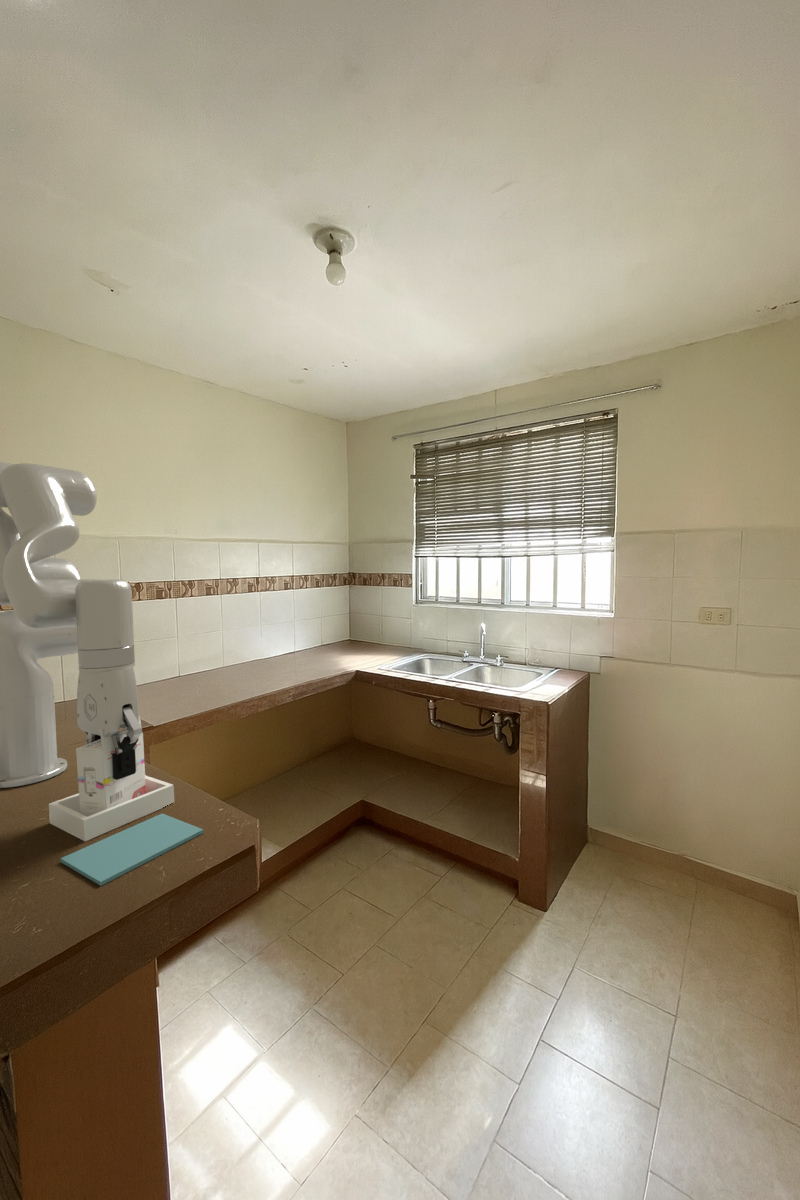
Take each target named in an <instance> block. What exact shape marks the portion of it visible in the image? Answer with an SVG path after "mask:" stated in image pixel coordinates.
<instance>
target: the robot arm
mask: <svg viewBox="0 0 800 1200" xmlns="http://www.w3.org/2000/svg"><path fill="white" fill-rule="evenodd" d="M94 485H95V484H94V483H93V481H92V480H91V478H89V477H88V476H87V475H86V474H85V473H83V472H81V471H79V470H77V471H76V470H73V469H68V468H67V469H66V468H62V467H61V468H59V467H55V466H49V465H45V464H44V465H43V464H36V463H28V462H27V463H25V462H24V463H21V462H20V463H9V462H3V461H0V606H11V608H12V609H13V610H6V611H5V610H4V611H0V789H3V788H4V789H6V788H15V787H22V786H27V785H31V784H36V783H39V782H42V781H45V780H48V779H51V778H53V777H55V776H58V775H59V774H61V773H63V772H65V771H66V769H67V768H68V761H67V759H65V758H62V757H58V745H57V743H58V742H57V730H56V729H57V727H56V709H55V708H56V707H55V689H54V681H53V678H52V676H51V674H50V673H49V672H48V671H47V670H46V669H45V668H44V667H42V666H41V665H40V664H39V663H38V661H37V660H39V659H40V660H41V659H45V658H52V657H53V658H54V657H59V656H60V657H61V656H67V655H68V656H69V655H73V654H77V661H78V679H77V694H76V713H77V715H76V719H77V720H76V722H77V727H78V729H80V730H81V731H82V732H85V734H86V735H87V737H86V745H87V744H89V743H92V742H94V741H97V740H99V739H101V735H100V730H101V729H102V731H103V736H104V737H110V736H111V737H112V742H113V746H114V750H115V753H113V754H112V762H113V778H114V779H116V780H118V779H121V778H124V777H127V776H130V775H133V774H135V773H136V759H135V749H136V748H137V744H136V743H137V742H138V739H139V736H140V735H141V733H143V728H142V725H141V726H140V724H139V716H140V705H139V703H140V702H139V694H138V687H137V679H136V674H135V670H134V667H135V666H136V658H135V657H136V656H135V633H134V614H133V613H134V612H133V611H134V609H133V593H132V586H131V585H130V582H128V581H126V580H124V579H108V578H107V579H98V578H97V579H95V578H93V579H90V578H88V579H83V578H82V576H81V573H80V571H79V569H78V567H76V565H75V564H74V563H73V562H72V561H70V560H68V559H66V558H63V557H53V556H55V555H56V556H57V555H59V554H61V553H63V552H65V551H67V550H69V549H70V548H72V547H73V546H74V545H75V544H77V541H78V540H79V538H80V535H81V534H80V532H81V531H80V528H79V526H78V524H77V522H76V519H75V518H74V516H77V517H78V516H81V517H84V516H88V515H90V514H91V513H92V512H93V511H94V509H95V508H96V505H97V498H98V497H97V496H98V495H97V491H96V488H95V486H94ZM3 508H6V509H8V512H9V513H10V514H8V513H7V512H6V511H5V510H4V509H3ZM119 728H120V729H123V730H120V729H119ZM122 735H126V736H127V737H124V738H123V740H122V742H120V738H119V736H122Z"/></svg>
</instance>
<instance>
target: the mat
mask: <svg viewBox="0 0 800 1200" xmlns="http://www.w3.org/2000/svg"><path fill="white" fill-rule="evenodd" d="M203 834H204V829H203V828H201V827H199V826H196V825H194V824H193V825H192V824H190V823H188V822H186V821H183V820H181V819H178V818H175V817H172V816H170V815H167V814H165V813H159V814H158V815H155V816H152V817H151V818H148V819H146V820H143V821H141V822H140V823H137V824H135V825H132V826H131V827H128V828H126V829H124V830H122V831H120V832H117V833H115V834H111V836H108V837H105V838H103V839H101V840H99V841H97V842H94V843H92V844H90V845H87V846H86V847H83V848H81V849H79V850H76V851H74V852H72V853H70V854H68V855H65V856H63V857H61V858H60V863H61V864H63V865H65V866H66V867H68V868H70V869H72V870H73V871H75V872H77V874H80V875H81V876H82V877H83V876H84V877H85V878H86V879H88V880H90V881H91V882H93V883H95V884H97V885H99V887H102V886H105V885H106V884H108V883H111V882H112V881H113V880H115V879H118V878H119V877H121V876H123V875H125V874H126V873H129V872H131V871H132V870H134V869H137V868H138V867H140V866H142V865H144V864H146V863H148V862H150V861H153V859H156V858H158V857H160V856H161V855H164V854H166V853H167V852H169V851H171V850H174V849H175V848H177V847H179V846H181V845H184V843H186V842H188V841H191V840H192V839H194V838H197V837H198V836H201V835H203Z"/></svg>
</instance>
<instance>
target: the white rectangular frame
mask: <svg viewBox="0 0 800 1200" xmlns="http://www.w3.org/2000/svg"><path fill="white" fill-rule="evenodd" d="M145 783H146V794H144V795H141V796H139V797H136V798H134V799H131V800H129V801H126V802H124V803H121V804H118V805H116V806H113V807H111V808H108V809H106V810H103V811H101V812H98V813H96V814H93V815H91V816H88V817H87V816H84V815H82V814H80V801H79V792H78V793H76V794H73V795H70V796H67V797H64V798H62V799H58V800H56V801H53V802H50V803H48V812H49V814H48V815H49V824H50V825H52V826H54V827H56V828H58V829H60V830H62V831H64V832H66V833H68V834H70V835H72V836H74V837H76V838H77V839H80V840H81V841H83V842H87V841H91V840H92V839H94V838H96V837H99V836H101V835H103V834H106V833H108V832H110V831H112V830H115V829H117V828H119V827H121V826H122V827H123V826H124V825H127V824H128V823H131V822H133V821H136V820H138V819H141V818H143V817H145V816H147V815H150V814H152V813H154V812H156V811H159V810H162V809H163V807H164V808H165V806H166V807H168V806H170V805H169V804H171V803H173V802H174V803H175V787H174V786H175V785H174V784H172V783H169V782H166V781H163V780H161V779H157V778H155V777H151V776H149V775H146V774H145ZM174 803H173V804H174ZM167 805H168V806H167ZM171 805H172V804H171Z"/></svg>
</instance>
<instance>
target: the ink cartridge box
mask: <svg viewBox="0 0 800 1200" xmlns="http://www.w3.org/2000/svg"><path fill="white" fill-rule="evenodd" d="M141 721H142V720H141V716H140V715H139V724H140V726H141V727H142V722H141ZM120 729H121V728H119V730H120ZM100 735H101V739H99V740H97V741H94V742H92V743H89V744H87V743H86V744H85V745H81V746H80V747H77V748H75V753H76V769H77V770H76V771H77V783H78V793H79V801H80V814H82V815H84V816H87V817H88V816H91V815H93V814H96V813H98V812H101V811H103V810H106V809H108V808H111V807H113V806H116V805H118V804H121V803H124V802H126V801H129V800H131V799H134V798H136V797H139V796H141V795H144V794H146V783H145V775H146V769H145V768H146V767H145V748H144V733H143V732H142V733H141V735H140V736H139V739H138V742H137V743H136V744H137V748H136V749H135V759H136V773H135V774H133V775H130V776H127V777H124V778H121V779H118V780H116V779H114V778H113V762H112V754H113V753H115V750H114V746H113V742H112V737H111V736H110V737H104V736H103V731H102V729H101V730H100ZM124 737H127V736H126V735H122V736H119V738H120V742H122V740H123V738H124Z"/></svg>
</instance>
